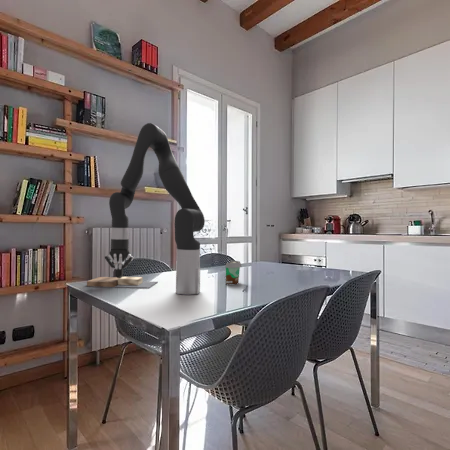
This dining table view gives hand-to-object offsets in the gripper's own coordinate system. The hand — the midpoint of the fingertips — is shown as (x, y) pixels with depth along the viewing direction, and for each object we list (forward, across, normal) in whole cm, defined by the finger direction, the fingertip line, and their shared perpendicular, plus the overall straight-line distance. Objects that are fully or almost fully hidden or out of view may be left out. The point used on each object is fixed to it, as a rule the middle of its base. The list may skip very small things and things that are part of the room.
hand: (119, 277), depth 144 cm
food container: (+3, -50, -12) cm, 52 cm away
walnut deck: (+3, +6, 0) cm, 6 cm away
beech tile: (+3, -5, 0) cm, 6 cm away
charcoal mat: (+3, -8, 0) cm, 9 cm away
